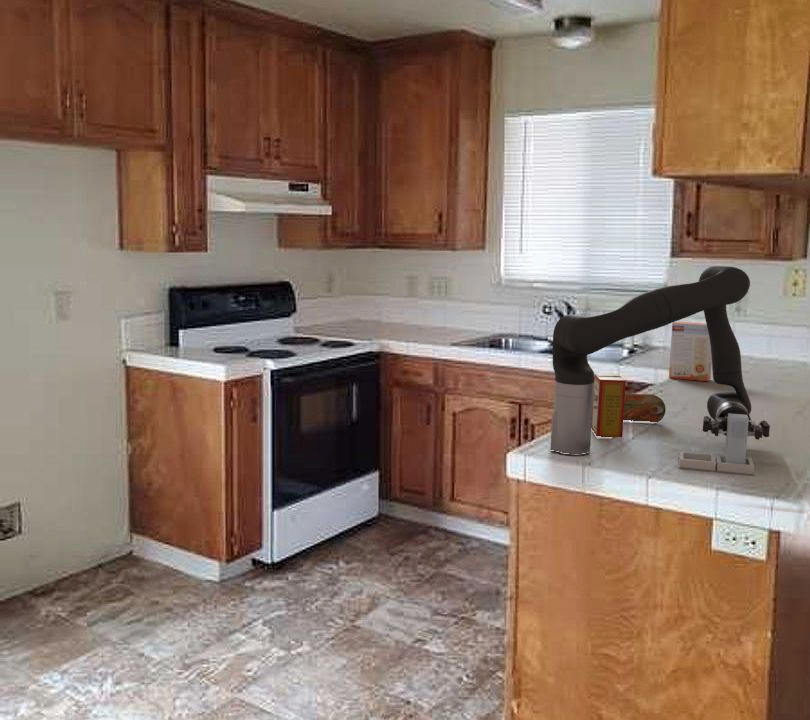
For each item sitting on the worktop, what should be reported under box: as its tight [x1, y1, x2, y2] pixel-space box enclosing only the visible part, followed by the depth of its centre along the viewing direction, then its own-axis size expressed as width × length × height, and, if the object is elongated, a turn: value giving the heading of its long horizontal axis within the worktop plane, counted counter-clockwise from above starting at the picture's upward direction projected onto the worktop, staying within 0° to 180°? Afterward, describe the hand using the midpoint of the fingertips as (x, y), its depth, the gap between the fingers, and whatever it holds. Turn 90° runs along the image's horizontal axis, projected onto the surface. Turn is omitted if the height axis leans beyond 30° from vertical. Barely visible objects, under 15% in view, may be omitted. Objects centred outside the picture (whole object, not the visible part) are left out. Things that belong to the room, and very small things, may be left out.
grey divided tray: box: [677, 451, 756, 477], centre depth 197 cm, size 16×11×3 cm
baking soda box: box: [591, 373, 627, 438], centre depth 229 cm, size 10×6×16 cm
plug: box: [724, 413, 749, 464], centre depth 195 cm, size 4×5×12 cm
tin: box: [623, 392, 667, 423], centre depth 246 cm, size 15×3×8 cm, turn 81°
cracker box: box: [668, 321, 712, 382], centre depth 320 cm, size 14×6×21 cm, turn 59°
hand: (737, 433), depth 193 cm, fingers open, 8 cm apart
